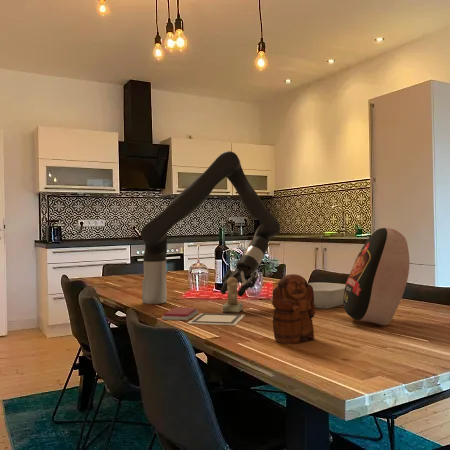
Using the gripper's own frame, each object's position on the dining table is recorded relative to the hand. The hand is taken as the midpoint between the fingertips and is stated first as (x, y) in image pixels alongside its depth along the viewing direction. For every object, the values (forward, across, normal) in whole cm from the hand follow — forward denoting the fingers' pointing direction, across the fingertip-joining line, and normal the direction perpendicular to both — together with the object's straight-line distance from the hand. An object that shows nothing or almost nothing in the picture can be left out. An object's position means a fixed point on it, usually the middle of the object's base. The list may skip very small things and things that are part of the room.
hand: (230, 294), depth 168 cm
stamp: (+4, 0, +5) cm, 7 cm away
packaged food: (-6, +48, +16) cm, 51 cm away
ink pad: (+17, -8, -8) cm, 20 cm away
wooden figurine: (+18, +42, -9) cm, 46 cm away
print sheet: (+14, +6, -5) cm, 16 cm away
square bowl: (-18, +18, +28) cm, 37 cm away
